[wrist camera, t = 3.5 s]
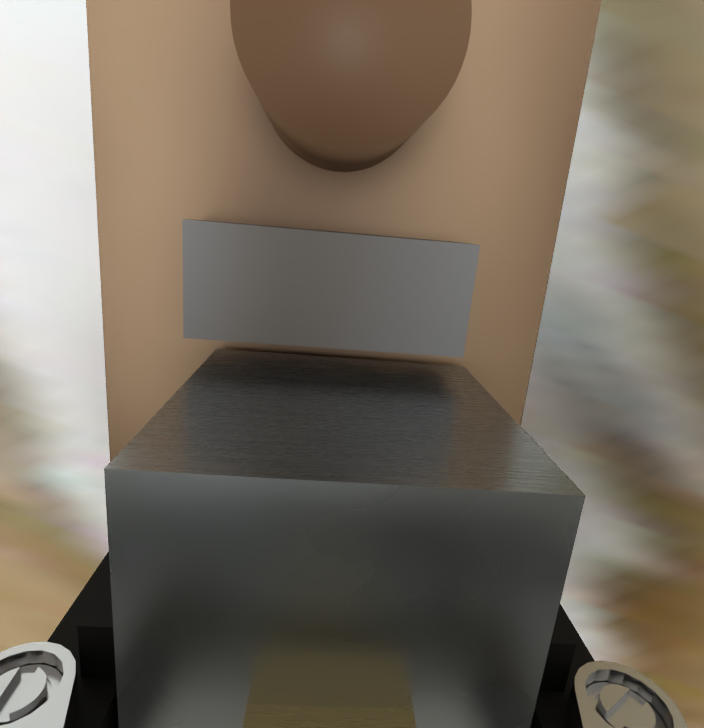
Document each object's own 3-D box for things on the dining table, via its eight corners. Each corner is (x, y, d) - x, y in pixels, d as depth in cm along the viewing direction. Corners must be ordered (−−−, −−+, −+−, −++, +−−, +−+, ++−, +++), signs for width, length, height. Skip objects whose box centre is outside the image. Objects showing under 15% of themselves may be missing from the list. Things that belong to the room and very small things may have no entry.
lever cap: (463, 365, 10) (629, 543, 4) (417, 675, 12) (489, 1055, 7) (216, 348, 10) (62, 513, 4) (212, 668, 12) (108, 1061, 6)
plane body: (519, 59, 13) (820, -198, 5) (423, 674, 18) (495, 1011, 10) (159, 17, 12) (-137, -353, 4) (171, 669, 17) (49, 1024, 10)
